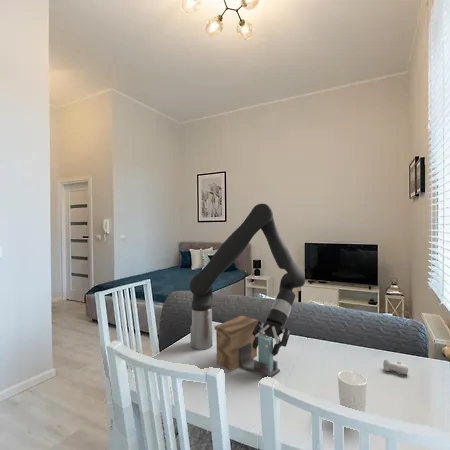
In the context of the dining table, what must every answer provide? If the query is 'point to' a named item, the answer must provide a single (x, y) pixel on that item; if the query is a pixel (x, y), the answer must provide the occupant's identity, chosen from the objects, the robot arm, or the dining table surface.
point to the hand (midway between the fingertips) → (263, 351)
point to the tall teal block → (265, 351)
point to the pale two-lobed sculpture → (395, 367)
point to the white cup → (352, 390)
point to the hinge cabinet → (240, 347)
